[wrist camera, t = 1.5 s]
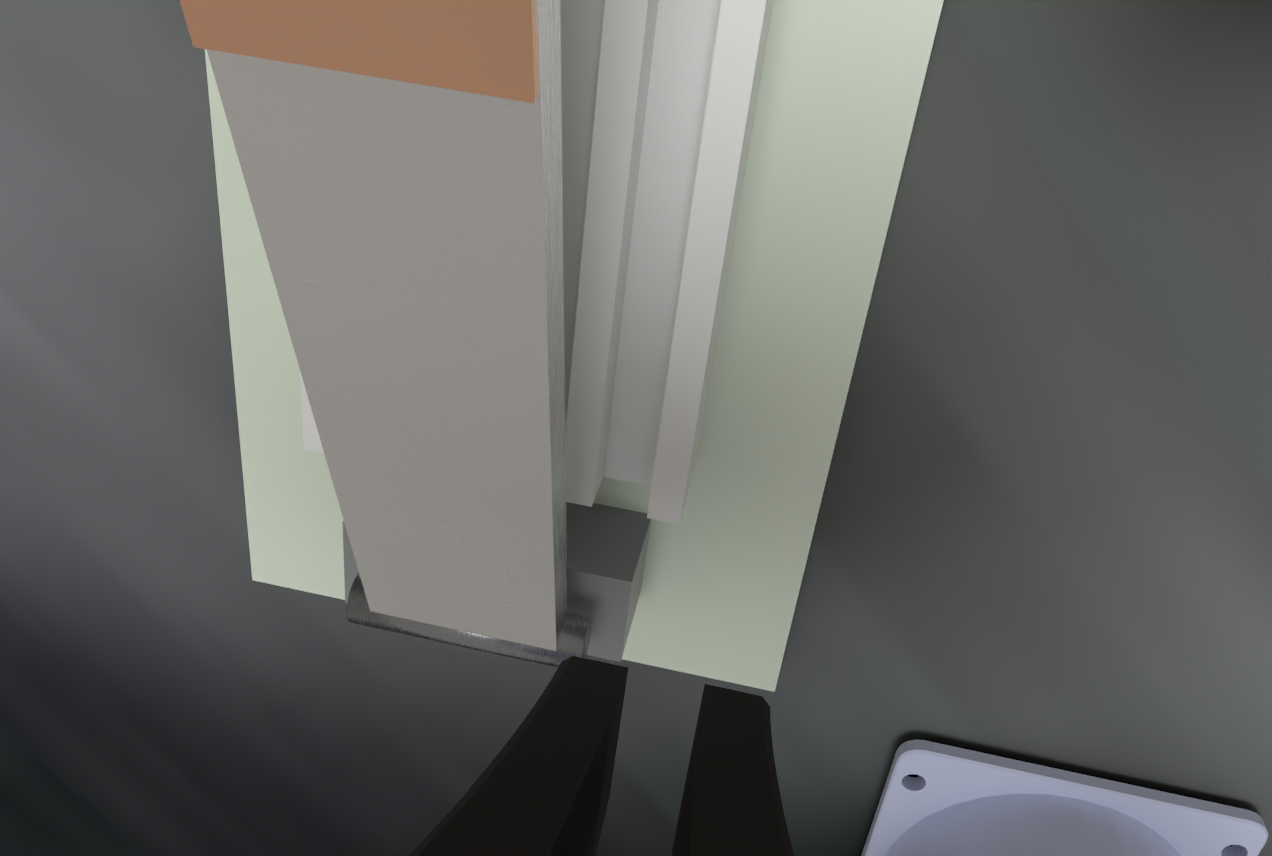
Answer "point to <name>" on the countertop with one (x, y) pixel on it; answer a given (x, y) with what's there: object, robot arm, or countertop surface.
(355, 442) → the strip
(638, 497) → the board
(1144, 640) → the countertop surface
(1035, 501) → the countertop surface
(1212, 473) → the countertop surface
